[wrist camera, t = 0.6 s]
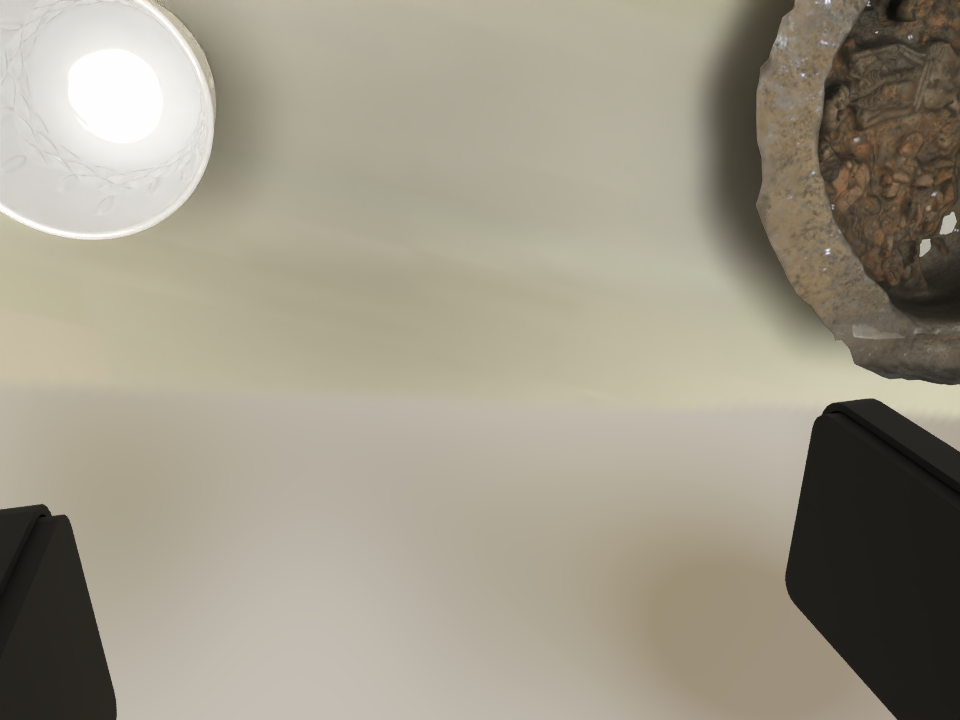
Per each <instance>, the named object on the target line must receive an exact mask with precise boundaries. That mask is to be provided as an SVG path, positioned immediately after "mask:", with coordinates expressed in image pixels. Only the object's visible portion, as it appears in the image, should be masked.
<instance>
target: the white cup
mask: <svg viewBox="0 0 960 720" xmlns="http://www.w3.org/2000/svg"><path fill="white" fill-rule="evenodd" d="M215 119H216V94H215V86H214V80H213V76H212V72H211V69H210V66H209V64H208V62H207V59H206V55H205V52H204V51H203V49H202V48H201V47H200V46H199V44H198V42H197V41H196V39H195V38H194V36H193V35H192V34H191V32H190V31H189V30H188V29H187V28H186V27H185V26H184V25H183V24H182V23H181V21H180V20H179V19H178V18H176V17H175V16H174V15H173V14H172V13H170V12H169V11H168V10H166V9H165V8H164V7H162V6H161V5H159V4H158V3H156V2H155V1H153V0H0V212H2V213H4V214H5V215H7V216H9V217H10V218H12V219H14V220H16V221H18V222H20V223H22V224H24V225H26V226H29V227H31V228H33V229H36V230H39V231H42V232H45V233H48V234H52V235H56V236H60V237H65V238H72V239H82V240H103V239H113V238H119V237H124V236H128V235H131V234H135V233H138V232H140V231H143V230H145V229H148V228H150V227H152V226H154V225H156V224H158V223H159V222H161V221H163V220H164V219H166V218H167V217H168V216H170V215H171V214H172V213H174V212H175V211H176V210H177V209H178V208H179V207H180V206H181V205H182V204H183V203H184V202H185V201H186V200H187V199H188V198H189V196H190V195H191V194H192V193H193V191H194V190H195V188H196V187H197V185H198V183H199V182H200V180H201V178H202V176H203V174H204V172H205V169H206V167H207V164H208V161H209V158H210V154H211V149H212V144H213V135H214V127H215Z"/></svg>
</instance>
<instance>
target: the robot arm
mask: <svg viewBox="0 0 960 720" xmlns="http://www.w3.org/2000/svg"><path fill="white" fill-rule="evenodd" d="M785 581H786V587H787V591H788V594H789V595H790V598H791V600H792V601H793V602H794V604H795V605H796V606H797V607H798V608H799V609H800V611H801V612H802V613H803V614H804V615H805V616H806V617H807V619H808V620H810V622H811V623H812V624H813V625H814V626H815V628H816V629H817V630H818V631H819V632H820V633H821V634H822V635H823V636H824V638H825V639H826V640H827V641H828V642H829V643H830V644H831V645H832V646H833V648H834V649H835V650H836V651H837V652H838V653H839V654H840V656H841V657H842V658H843V659H844V660H845V661H846V662H847V663H848V665H849V666H850V667H851V668H852V669H853V670H854V671H855V672H856V674H857V675H858V676H859V677H860V678H861V679H862V680H863V682H864V683H865V684H866V685H867V686H868V687H869V688H870V689H871V691H872V692H873V693H874V694H875V695H876V696H877V697H878V698H879V699H880V701H881V702H882V703H883V704H884V705H885V706H886V707H887V708H888V710H889V711H890V712H891V713H892V714H893V715H894V716H895V717H896V719H897V720H960V452H959V451H957V450H956V449H954V448H953V447H951V446H950V445H948V444H946V443H945V442H943V441H942V440H940V439H939V438H937V437H935V436H934V435H932V434H931V433H929V432H928V431H926V430H924V429H923V428H921V427H920V426H918V425H917V424H915V423H913V422H912V421H910V420H909V419H907V418H905V417H904V416H902V415H901V414H899V413H898V412H896V411H894V410H893V409H891V408H890V407H888V406H887V405H885V404H883V403H882V402H880V401H878V400H876V399H861V400H853V401H845V402H837V403H832V404H830V405H828V406H827V407H826V408H825V410H824V411H823V413H822V415H821V416H819V417H817V419H816V420H815V422H814V425H813V428H812V433H811V439H810V444H809V450H808V455H807V460H806V466H805V471H804V477H803V482H802V487H801V493H800V498H799V504H798V509H797V515H796V520H795V525H794V531H793V537H792V542H791V547H790V553H789V558H788V563H787V569H786V575H785ZM116 711H117V710H116V698H115V694H114V689H113V685H112V681H111V677H110V674H109V670H108V666H107V662H106V658H105V654H104V650H103V646H102V643H101V639H100V635H99V631H98V627H97V623H96V619H95V615H94V612H93V608H92V604H91V600H90V596H89V592H88V589H87V584H86V581H85V577H84V573H83V569H82V565H81V561H80V557H79V553H78V550H77V546H76V542H75V538H74V534H73V530H72V527H71V523H70V521H69V519H68V517H67V516H66V515H57V516H52V515H51V512H50V511H49V510H48V508H47V506H45V505H43V504H40V505H32V506H25V507H16V508H9V509H1V510H0V720H116V717H117V712H116Z"/></svg>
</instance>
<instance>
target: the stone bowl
mask: <svg viewBox="0 0 960 720" xmlns="http://www.w3.org/2000/svg"><path fill="white" fill-rule="evenodd" d="M876 31H879V32H878V34H876V33H875V32H876ZM756 128H757V143H758V147H759V150H760V154H761V158H762V185H761V189H760V193H759V197H758V200H757V202H756V208H757V210H758V213H759V216H760V219H761V222H762V224H763V227H764V229H765V232H766V234H767V236H768V239H769V241H770V243H771V245H772V248H773V249H774V251H775V253H776V255H777V258H778V260H779V262H780V263H781V265H782V267H783V268H784V271H785V274H786V277H787V279H788V280H789V282H790V284H791V285H792V287H793V289H794V290H795V292H796V294H797V295H798V296H799V297H800V298H801V299H802V300H803V301H805V302H806V303H808V304H809V305H811V306H812V307H813V309H814V311H815V312H816V314H818V316H819V317H820V319H821V321H822V322H823V323H824V325H825V326H826V327H827V328H828V329H829V330H830V331H831V332H832V333H833V334H834V338H835V340H842V341H843V342H844V343H845V344H846V345H847V346H848V347H849V349H850V351H851V354H852V357H853V361H854V363H855V364H856V365H858V366H860V367H863V368H865V369H867V370H870V371H872V372H874V373H876V374H878V375H880V376H882V377H885V378H888V379H898V378H903V379H906V380H923V381H927V382H932V383H936V384H946V385H957V384H960V0H795V1H794V5H793V9H792V10H791V11H790V12H789V13H787V14H786V15H785V16H783V18H782V21H781V24H780V26H779V29H778V34H777V38H776V40H775V42H774V43H773V46H772V49H771V52H770V54H769V57H768V59H767V60H766V61H765V63H764V64H763V65H762V66H761V67H760V76H759V84H758V88H757V92H756ZM951 212H955V216H956V219H957V223H956V225H955V228H954V230H953V232H952V233H949V234H947V235H944V234H943V235H941V234H939V233H940V229H941V226H942V220H943V218H944V216H946V215H950V213H951ZM931 238H932V239H931ZM923 239H930V242H931V249H930V250H929V251H928V252H927V253H926V254H925V255H924V256H922V257H919V254H920V243H921V242H922V240H923Z"/></svg>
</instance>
